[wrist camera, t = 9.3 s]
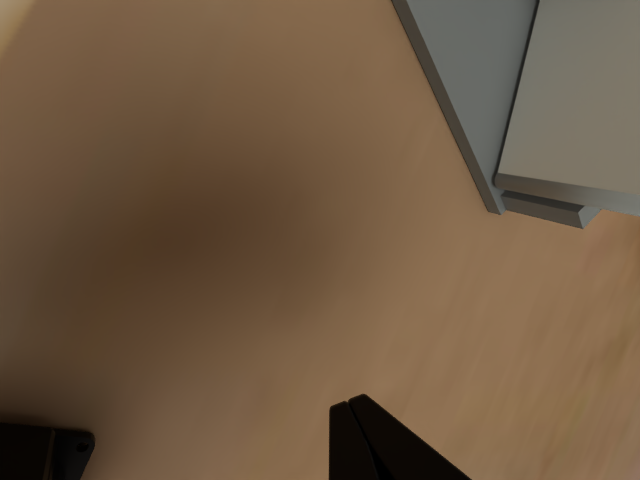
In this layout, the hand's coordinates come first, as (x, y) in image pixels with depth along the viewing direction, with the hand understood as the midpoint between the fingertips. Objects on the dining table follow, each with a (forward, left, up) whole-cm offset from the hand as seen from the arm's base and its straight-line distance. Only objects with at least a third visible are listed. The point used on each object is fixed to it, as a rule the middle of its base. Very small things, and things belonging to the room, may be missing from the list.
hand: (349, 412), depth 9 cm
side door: (+15, -11, -11) cm, 22 cm away
